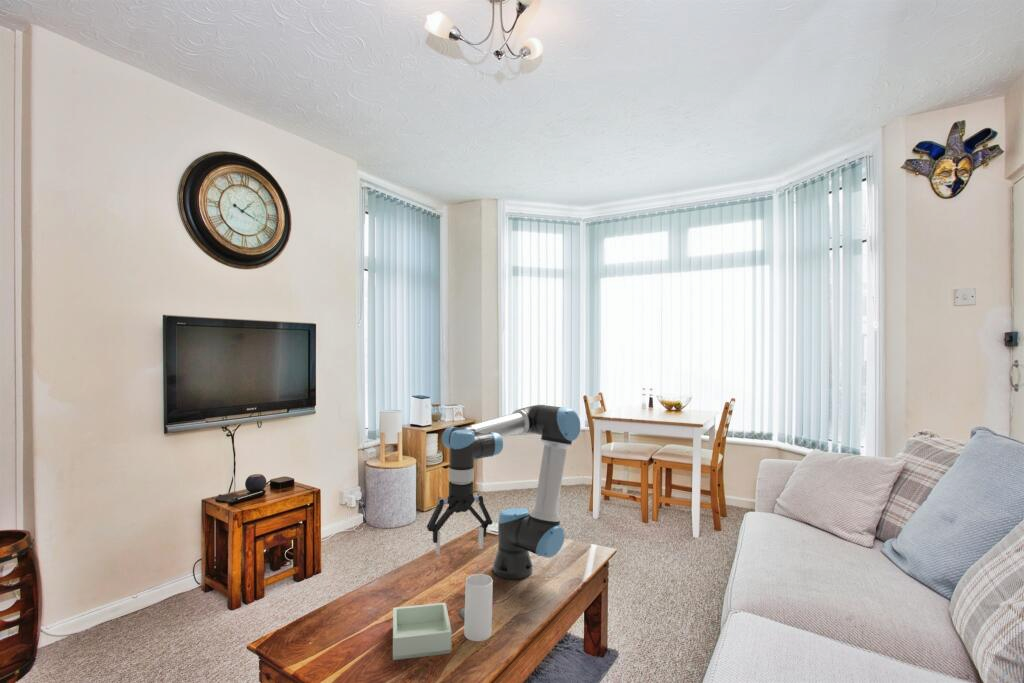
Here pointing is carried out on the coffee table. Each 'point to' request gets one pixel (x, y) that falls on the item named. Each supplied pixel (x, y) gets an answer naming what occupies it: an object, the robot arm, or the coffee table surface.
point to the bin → (421, 631)
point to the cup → (478, 607)
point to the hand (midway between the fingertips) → (459, 550)
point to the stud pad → (462, 612)
